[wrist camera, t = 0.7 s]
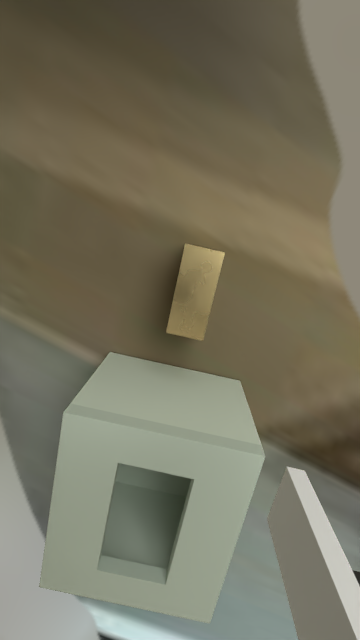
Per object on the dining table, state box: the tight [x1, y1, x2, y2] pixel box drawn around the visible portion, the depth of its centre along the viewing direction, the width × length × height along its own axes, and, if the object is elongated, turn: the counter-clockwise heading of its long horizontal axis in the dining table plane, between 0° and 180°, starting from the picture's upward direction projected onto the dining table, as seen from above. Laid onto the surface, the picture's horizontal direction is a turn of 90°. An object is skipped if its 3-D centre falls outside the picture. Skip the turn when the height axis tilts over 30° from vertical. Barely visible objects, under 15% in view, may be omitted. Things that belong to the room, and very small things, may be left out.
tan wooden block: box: [166, 244, 225, 341], centre depth 27 cm, size 7×3×7 cm, turn 168°
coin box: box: [39, 352, 265, 623], centre depth 29 cm, size 16×14×12 cm
